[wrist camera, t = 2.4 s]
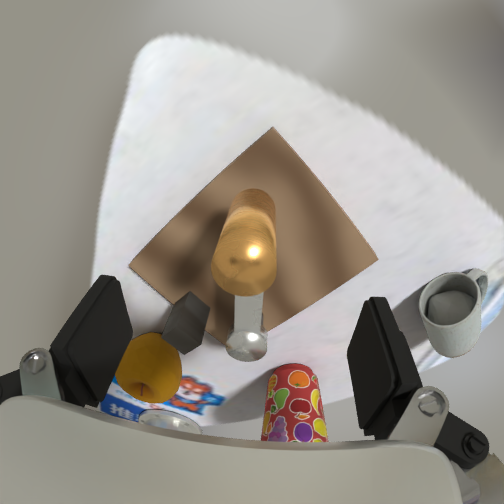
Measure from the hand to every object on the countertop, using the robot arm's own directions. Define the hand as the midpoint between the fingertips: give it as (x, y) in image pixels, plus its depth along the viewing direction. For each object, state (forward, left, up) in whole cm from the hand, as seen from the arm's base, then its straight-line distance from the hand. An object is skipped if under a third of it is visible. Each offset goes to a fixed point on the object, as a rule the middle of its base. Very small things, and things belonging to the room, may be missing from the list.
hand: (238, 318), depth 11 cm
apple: (-24, -7, -18) cm, 31 cm away
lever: (-6, -5, -14) cm, 16 cm away
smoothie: (-14, -23, -18) cm, 33 cm away
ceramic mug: (+9, -25, -18) cm, 33 cm away
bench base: (-6, -5, -18) cm, 20 cm away
